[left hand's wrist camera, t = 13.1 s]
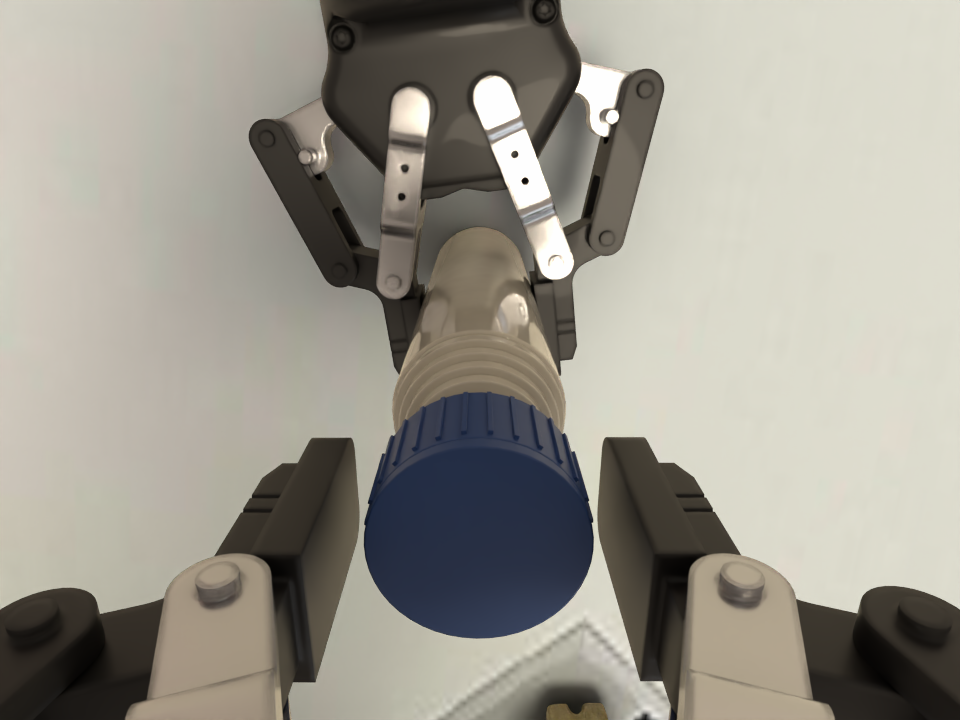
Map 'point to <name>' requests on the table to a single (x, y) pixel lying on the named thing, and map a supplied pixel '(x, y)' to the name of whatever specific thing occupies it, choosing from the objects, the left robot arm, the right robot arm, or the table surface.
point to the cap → (478, 517)
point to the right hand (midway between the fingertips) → (488, 374)
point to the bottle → (479, 332)
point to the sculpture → (590, 716)
